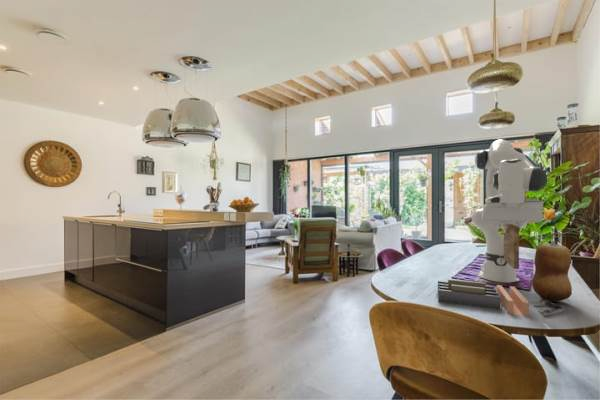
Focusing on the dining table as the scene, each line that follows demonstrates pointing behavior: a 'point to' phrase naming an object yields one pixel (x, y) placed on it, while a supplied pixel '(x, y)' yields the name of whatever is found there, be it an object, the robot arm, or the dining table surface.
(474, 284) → the offcut
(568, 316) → the dining table surface
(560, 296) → the butternut squash
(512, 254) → the tall sheet
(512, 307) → the holder
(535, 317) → the dining table surface
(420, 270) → the dining table surface
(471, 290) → the offcut
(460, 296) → the rack
